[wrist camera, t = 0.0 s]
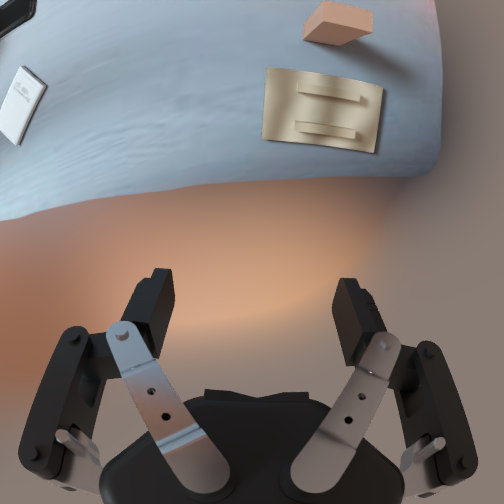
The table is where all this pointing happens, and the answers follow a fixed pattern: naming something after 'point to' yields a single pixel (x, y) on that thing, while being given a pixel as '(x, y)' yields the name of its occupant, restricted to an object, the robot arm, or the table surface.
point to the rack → (320, 109)
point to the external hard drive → (20, 104)
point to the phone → (15, 14)
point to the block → (337, 24)
